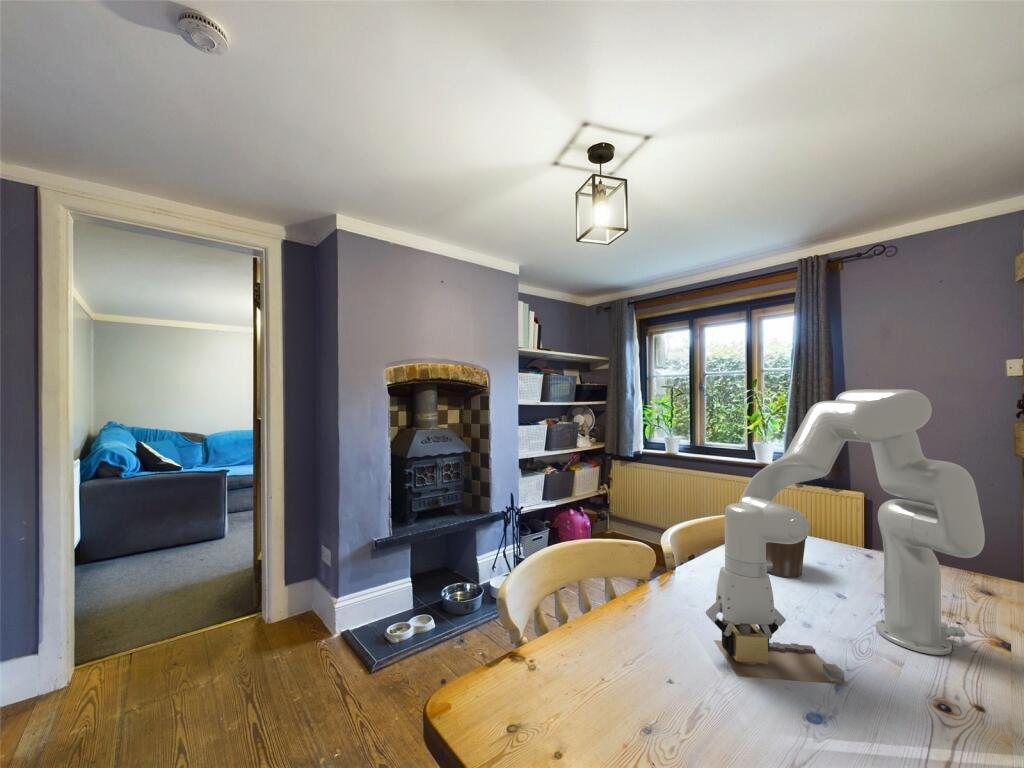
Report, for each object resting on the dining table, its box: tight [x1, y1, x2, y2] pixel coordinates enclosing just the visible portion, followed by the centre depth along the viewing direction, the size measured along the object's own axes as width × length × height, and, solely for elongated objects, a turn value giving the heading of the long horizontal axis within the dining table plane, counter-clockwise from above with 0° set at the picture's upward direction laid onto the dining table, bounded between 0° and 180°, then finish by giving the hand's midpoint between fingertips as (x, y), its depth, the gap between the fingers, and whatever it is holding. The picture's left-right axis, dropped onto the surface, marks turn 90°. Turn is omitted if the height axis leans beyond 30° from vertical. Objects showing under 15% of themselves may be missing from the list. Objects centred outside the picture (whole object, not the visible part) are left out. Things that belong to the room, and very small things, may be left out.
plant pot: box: [766, 523, 811, 579], centre depth 135 cm, size 16×16×16 cm
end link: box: [731, 623, 768, 664], centre depth 87 cm, size 6×6×5 cm
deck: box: [713, 623, 848, 685], centre depth 86 cm, size 20×12×8 cm, turn 85°
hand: (745, 652), depth 87 cm, fingers closed on end link, 6 cm apart
